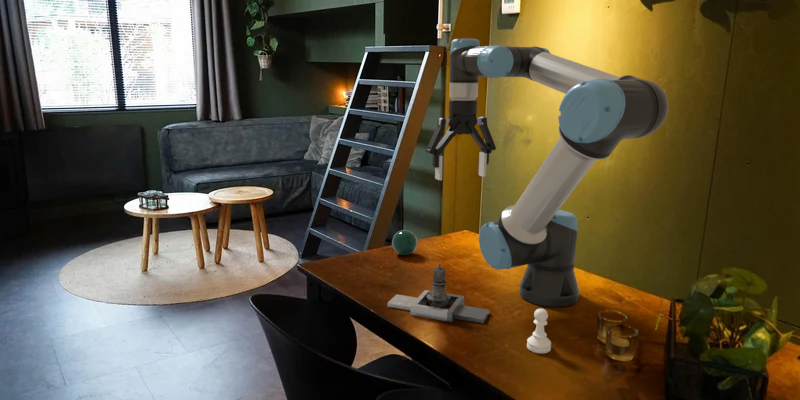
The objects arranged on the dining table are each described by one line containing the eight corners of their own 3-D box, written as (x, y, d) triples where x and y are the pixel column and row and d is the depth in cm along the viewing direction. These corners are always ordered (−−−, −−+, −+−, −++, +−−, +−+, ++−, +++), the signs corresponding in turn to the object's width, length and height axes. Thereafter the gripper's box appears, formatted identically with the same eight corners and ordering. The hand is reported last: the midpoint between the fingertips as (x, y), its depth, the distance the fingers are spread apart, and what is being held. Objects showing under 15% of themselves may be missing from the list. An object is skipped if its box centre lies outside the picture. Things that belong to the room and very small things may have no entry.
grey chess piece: (449, 315, 137) (450, 268, 134) (424, 313, 138) (425, 267, 135) (451, 306, 143) (452, 260, 140) (427, 304, 143) (428, 259, 141)
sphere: (414, 259, 176) (414, 235, 174) (389, 257, 178) (389, 233, 176) (419, 251, 184) (419, 227, 182) (395, 249, 186) (395, 226, 184)
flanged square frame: (491, 309, 140) (491, 300, 140) (481, 327, 131) (481, 317, 130) (399, 294, 149) (399, 285, 149) (383, 310, 140) (383, 300, 139)
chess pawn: (522, 343, 123) (525, 305, 121) (544, 341, 125) (546, 303, 123) (533, 355, 119) (535, 315, 117) (555, 352, 120) (558, 313, 118)
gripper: (495, 97, 159) (492, 172, 164) (414, 99, 150) (413, 178, 154) (511, 99, 152) (506, 177, 157) (427, 100, 143) (425, 183, 148)
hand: (460, 177), depth 156 cm, fingers open, 13 cm apart
